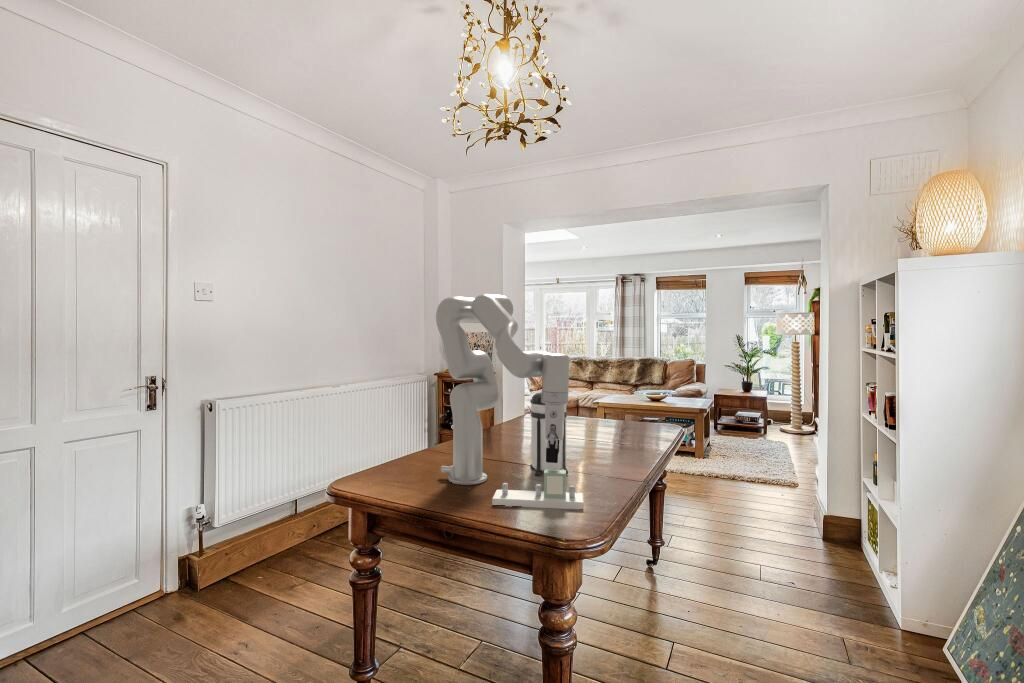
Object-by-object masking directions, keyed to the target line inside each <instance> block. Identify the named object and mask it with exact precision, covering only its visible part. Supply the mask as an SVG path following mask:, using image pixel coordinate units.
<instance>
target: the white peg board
mask: <svg viewBox="0 0 1024 683" xmlns="http://www.w3.org/2000/svg"><path fill="white" fill-rule="evenodd" d="M501 485H502V486H501V489H496V491H494V492H495V493H494V495H492V502H491V503H492V505H505V506H504V507H512V506H522V507H521V508H535V509H536V508H541V509H558V510H559V509H561V510H579V509H583V510H584V493H583V492H576V485H569V486H568V488H569V489H568V491H569V492H567V491H566V499H560V498H544V490H543V491H542V484H539V483H537V484H535V490H520V489H519V490H517V489H509V483H508V482H504V483H501Z"/></svg>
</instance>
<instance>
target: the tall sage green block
mask: <svg viewBox="0 0 1024 683" xmlns="http://www.w3.org/2000/svg"><path fill="white" fill-rule="evenodd" d="M543 491H544V498H560V499H566V492H567V475H566V470H564V469H562V470H545V471H543Z"/></svg>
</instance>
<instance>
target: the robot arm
mask: <svg viewBox="0 0 1024 683" xmlns="http://www.w3.org/2000/svg"><path fill="white" fill-rule="evenodd" d="M436 308H437V309H436V312H435V321H436V327H437V330H438V333H439V335H440V338H441V341H442V345H443V350H444V354H445V360H446V363H447V364H446V365H447V369H448V373H449V375H450V377H451V378H452V379H454V380H459V381H461V380H473V381H472V382H463V383H460V384H457V385H456V386H454V387H453V388H452V389H451V392H450V394H449V403H450V408H451V413H452V415H451V416H452V432H453V433H452V434H453V435H452V437H453V438H452V440H453V441H452V442H453V443H452V445H453V446H452V447H453V450H452V458H453V459H452V465H450V466H447V465H441V467H440V472H441V473H442V474H449V475H448V481H449V482H450V483H451V482H452V484H455V485H459V484H460V486H462V485H463V486H471V485H479V484H482V483H484V482H486V481H487V480H488V475H487V474H486V473H485V472H483V423H482V419H481V417H480V415H479V413H478V412H479V411H484V410H489V409H492V408H494V407H496V405H497V404H498V402H499V398H500V396H499V395H500V392H499V387H498V383H497V378H496V374H495V369H494V365H493V361H492V359H491V357H490V356H489V355H488V353H487V352H485V351H482V350H472V348H471V345H470V341H469V337H468V335H467V333H466V331H465V330H464V329H463V327H462V326H461V325H460V323H462V324H464V323H465V324H467V323H468V324H471V323H472V324H481V325H482V326H483V327H484V328H485V330H486V331H487V332H488V333H489V334H490V336H491V337H492V338H493V339H494V346H495V352H496V355H497V358H498V360H499V361H500V362H501V363H502V365H503V366H504V367H505V369H506V370H507V371H508V372H509V373H510V374H511V375H512V376H514V377H516V378H519V379H527V378H528V379H529V378H538V377H541V392H542V395H541V402H542V403H545V437H546V439H548V441H547V447H546V462H549V463H557V462H558V453H559V440H558V439H561V440H562V439H563V435H564V404H566V405H568V404H569V390H570V389H569V387H570V386H569V385H570V384H569V382H570V362H571V361H570V356H569V355H568V354H565V353H557V352H554V353H553V352H548V351H544V350H526V351H525V350H524V351H523V350H522V349H521V348H520V347H519V346H518V345H517V343H515V341H514V340H513V337H515V335H516V334H517V331H518V329H519V325H518V321H516V320H515V319H514V318H513V314H514V305H513V302H512V301H511V299H510V298H509V297H508V296H506V295H502V294H490V293H483V294H479V295H477V296H476V297H466V296H450V297H449V296H448V297H446V298H444V299H443V300H441V301H440V303H439V304H438V306H437V307H436Z"/></svg>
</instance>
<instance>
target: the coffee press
mask: <svg viewBox="0 0 1024 683" xmlns="http://www.w3.org/2000/svg"><path fill="white" fill-rule="evenodd" d="M541 395H542V391H540V392H537V393H535V394H533V396H532V397H531V399H530V400H529V402H530V404H531V406H530V407H531V410H530V417H531V418H530V420H531V422H530V424H531V425H530V426H531V437H530V438H531V439H530V440H531V442H530V444H531V445H530V446H531V455H530V456H531V463H530V465H529V467H530V469H531V468H534V469H535V472H534V475H535V477H541V475H542V473H544V471H545V470H566V476H567V475H568V474H569V471H568V469H567V467H566V466H567V416H568V411H567V404H564V435H563V439H562V440H561V439H558V440H559V453H558V462H557V463H549V462H546V447H547V441H548V439H546V437H545V403H542V402H541Z"/></svg>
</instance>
